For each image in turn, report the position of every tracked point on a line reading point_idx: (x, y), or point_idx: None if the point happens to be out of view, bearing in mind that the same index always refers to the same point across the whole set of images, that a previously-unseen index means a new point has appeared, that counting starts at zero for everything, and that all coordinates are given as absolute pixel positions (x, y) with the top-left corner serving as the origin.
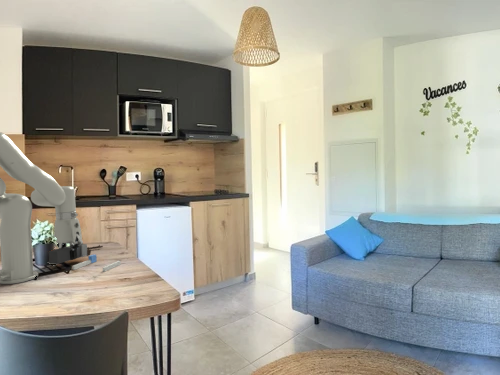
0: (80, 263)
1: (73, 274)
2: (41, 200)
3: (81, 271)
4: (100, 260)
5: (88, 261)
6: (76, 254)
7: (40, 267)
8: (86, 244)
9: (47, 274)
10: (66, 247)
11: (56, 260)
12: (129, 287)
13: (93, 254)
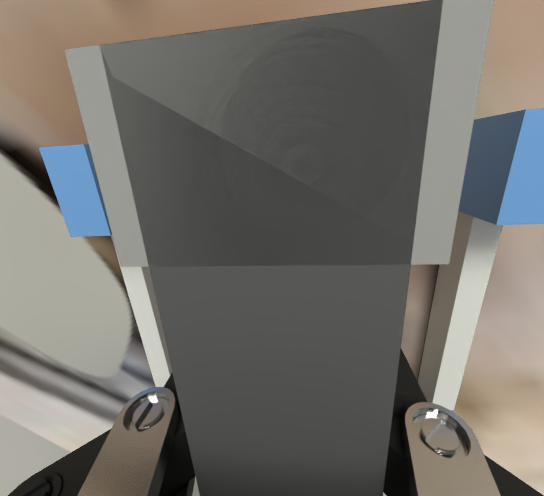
0: (461, 348)
1: (498, 454)
2: None
3: (522, 407)
4: (537, 60)
5: (489, 254)
6: (402, 359)
7: (137, 365)
8: (483, 23)
9: None
10: (255, 489)
11: None
12: None
13: (533, 112)
